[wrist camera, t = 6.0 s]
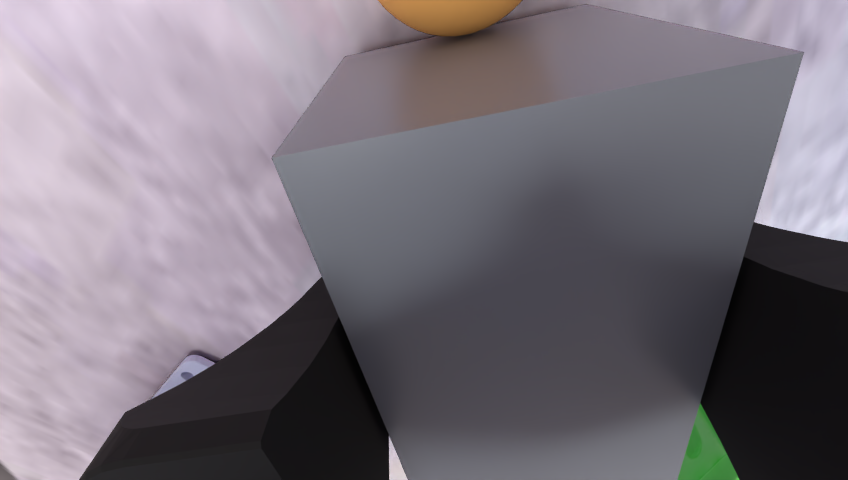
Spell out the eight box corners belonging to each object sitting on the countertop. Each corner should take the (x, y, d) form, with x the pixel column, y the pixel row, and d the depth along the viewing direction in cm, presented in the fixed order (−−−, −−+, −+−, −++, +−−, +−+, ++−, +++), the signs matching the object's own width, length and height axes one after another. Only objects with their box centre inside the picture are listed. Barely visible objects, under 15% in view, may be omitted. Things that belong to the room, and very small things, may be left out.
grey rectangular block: (578, 317, 16) (669, 507, 10) (424, 341, 16) (431, 534, 11) (586, 4, 10) (804, 52, 4) (345, 56, 10) (271, 157, 5)
